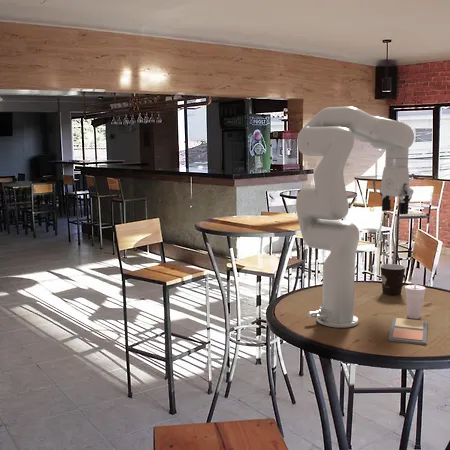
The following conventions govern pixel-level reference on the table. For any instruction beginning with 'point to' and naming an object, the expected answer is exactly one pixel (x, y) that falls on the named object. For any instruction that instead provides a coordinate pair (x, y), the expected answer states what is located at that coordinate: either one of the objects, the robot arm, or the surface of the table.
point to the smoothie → (414, 299)
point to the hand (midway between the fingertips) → (394, 212)
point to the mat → (408, 331)
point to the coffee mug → (392, 279)
